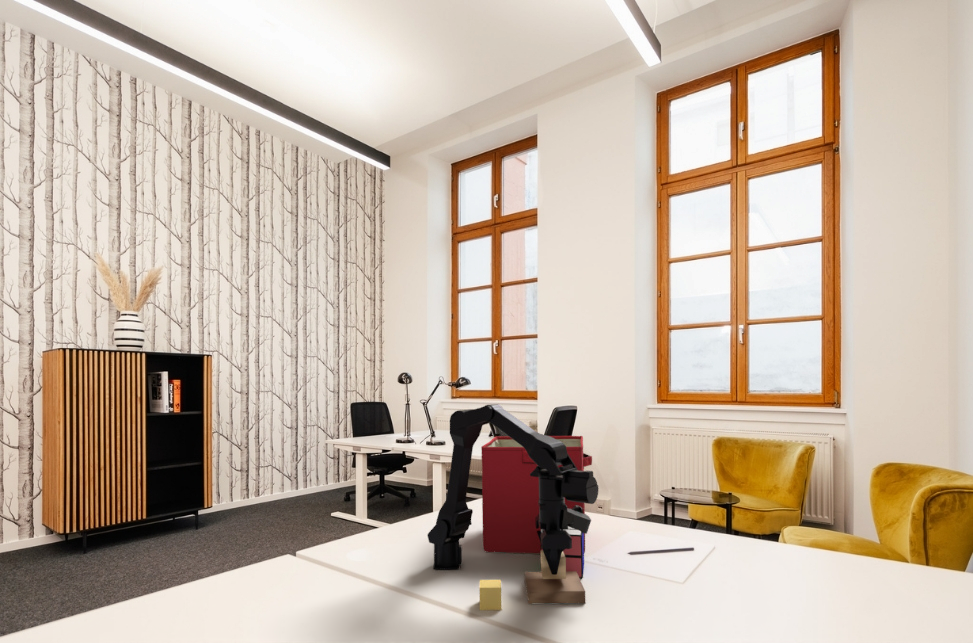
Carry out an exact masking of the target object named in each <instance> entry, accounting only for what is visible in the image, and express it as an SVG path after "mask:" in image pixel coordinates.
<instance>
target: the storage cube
mask: <svg viewBox="0 0 973 643" xmlns="http://www.w3.org/2000/svg"><path fill="white" fill-rule="evenodd" d="M549 436H550V437H552V438H554V439H557V440H559V441H561V442H562V443H564V444H565V446H566V447H567V453H568V455H569V456H570V458H571V459H572V461H573V463H574V464H575V466H576V467H577V470H579V471H585V467H588V466H592V464H593V456H592V455H590V454H587V453H586V452H585V453H584V437H583V436H582V435H549ZM537 466H538V465H537V464H536V463H535V462H534V461H533V460H532V459H531V458H530V457H529V455H528V453H527V451H526V449H525V448H524V447H523V446H521V445H520V444H519V443H517V442H516V441H514V440H513V439H512V438H510V437H509V436H508V435H506V436H494V437H493V438H492V439H491V440H490V441H488V442H486V443H485V444H484V445H482V446H481V486H482V487H481V488H482V489H481V492H482V494H481V495H482V496H481V497H482V500H481V502H482V503H481V505H482V548H483V551H484V552H485V551H486V553H494V552H506V553H505V554H530V555H531V554H532V555H533V554H536V555H541V548H540V539H539V537H538V534H537V531H539V530H541V529H540V526H539V529H536V526H535V517H536V516H537V515H538V514H539V506H538V500H539V477H532V476H530V473H531V472H532V471H534V470H535V468H536V467H537ZM561 466H562V465H559V466H558V467H561ZM564 499H565V504H566V505H567V508H568V509H572V508H573V507H574V506H575V505H577V506H580V507H581V508H582V509H583V514H586V509H585V508H586V507H585V504H586V503H581V502H574V501H568V500H566V498H565V497H564ZM585 553H586V534H585V533H584V554H585Z"/></svg>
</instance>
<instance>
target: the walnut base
mask: <svg viewBox="0 0 973 643" xmlns="http://www.w3.org/2000/svg"><path fill="white" fill-rule="evenodd" d="M524 586H525V590H526V597H527V602H528V603H529V604H528V605H533V604H532V603H583V604H586V590H585V587H584V585H583V583H582V581H581V578H579V576H578V574H577V572H576V571H566V579H543V577H542V573H541V571H524Z"/></svg>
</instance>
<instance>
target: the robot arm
mask: <svg viewBox="0 0 973 643" xmlns="http://www.w3.org/2000/svg"><path fill="white" fill-rule="evenodd" d="M488 424H491V425H493V426H494V427H495V428H497V429H498V430H500V431H501V432H503V434H504V435H506V436H509V437H510V438H512V439H513V440H514V441H516V442H517V443H519V444H520V445H521V446H523V447H524V448H525V449H526V451H527V453H528V455H529V457H530V458H531V459H532V460H533V461H534V462H535V463H536V464H537V465H538V466H537V467H536V468H535V470H534V471H532V472H531V473H530V476H532V477H539V500H538V506H539V514H538V515H537V516H536V517H535V526H536V529H539V526H540V529H541V530H539V531H537V534H538V537H539V539H540V544H541V547H542V549H543V552H544V555H545V557H546V560H547V562H548V565H549V568H550V570H551V573H552V575H556V574H557V572H558V567H559V563H560V558H561V554H562V552H563V551H564V550H565V549H571V548H572V538H571V536H570V534H569V533H568V532H567V531H566V530H568V526H569V527H571V528H574V529H576V530H579V531H581V532H582V533H585V535H587V534H588V532H589V530H590V525H591V522H592V519H591V517H590V516H589V515H587V513H585V514H583V509H582V508H581V507H580V506H577V505H575V506H574V507H573V508H572V509H568V508H567V505H566V504H565V499H564V497H565V498H566V500H568V501H574V502H581V503H584V504H590V505H593V504H595V503H596V502H597V500H598V499H597V498H598V496H599V485H598V481H597V479H596V477H594V471H593V470H584V471H579V470H577V467H576V466H575V464H574V463H573V461H572V459H571V458H570V456H569V455H568V453H567V447H566V446H565V444H564V443H562V442H561V441H559V440H557V439H554V438H552V437H550V436H551V435H546V434H543V433H539V432H538V431H535V429H533V428H531V427H530V426H529V425H527V424H525V423H524V422H523V421H522V420H520V419H518V418H517V417H515V416H514V415H513V414H511V413H510V412H508V411H507V410H506V409H505V408H503V406H501V405H500V404H499V403H494V404H491V403H490V404H486V405H484V406H481V407H477V408H474V409H473V408H471V409H470V408H469V409H462V410H461V409H460V410H459V409H458V410H456V411H454V412H453V413H451V415H450V417H449V435H450V437H451V441H452V443H453V446H452V447H453V448H452V455H451V460H450V461H451V462H450V463H451V464H450V470H449V478H448V485H447V491H446V492H447V493H446V499H445V501H444V502H443V504H442V506H441V507H440V509H439V511H438V515H437V518H436V520H435V522H436V523H435V525H434V526H433V527H432V529H430V530H429V532H428V533H427V541H428V542H429V544H432V545H433V567H432V569H433V570H459V569H460V566H461V565H462V562H463V554H462V551H463V547H462V546H463V545H462V544H460V539H463V538H465V537H466V536H465V535H466V532H467V531H468V530H469V528H470V526H471V525H472V524H473V523H472V517H473V511H474V510H473V509H472V508H469V507H468V504H467V492H468V485H469V479H470V477H469V476H470V471H471V463H472V456H473V448H474V445H475V443H476V442H477V440H478V438H479V437H480V435H481V432H482V429H483V426H484V425H488ZM559 465H562V466H561V467H558V466H559ZM561 529H563V530H561Z"/></svg>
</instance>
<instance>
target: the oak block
mask: <svg viewBox="0 0 973 643" xmlns="http://www.w3.org/2000/svg"><path fill="white" fill-rule="evenodd" d="M540 572H541V573H542V577H543V579H566V557H565V555H564V553H563V552H562V554H561V558H560V563H559V567H558V572H557V574H556V575H552V573H551V570H550V568H549V565H548V562H547V560H546V557H545V555H544V552H543V550H541V554H540Z"/></svg>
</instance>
